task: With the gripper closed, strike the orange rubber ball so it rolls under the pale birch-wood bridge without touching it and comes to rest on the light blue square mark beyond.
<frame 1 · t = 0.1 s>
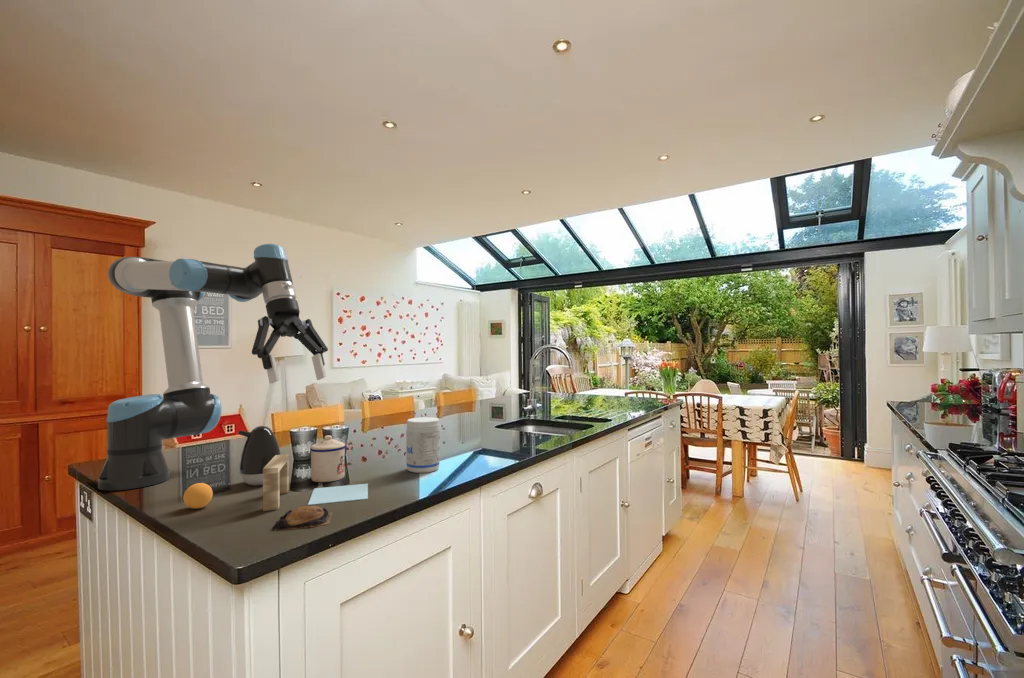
hand: (299, 380, 116), 28 cm above the counter, tool tilted 20°, fingers open, 13 cm apart
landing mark: (340, 494, 113), on the counter
bridge: (276, 500, 109), on the counter
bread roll: (304, 525, 95), on the counter
supplement tub: (423, 470, 136), on the counter
pump dispenser: (260, 483, 124), on the counter
teacup with lid: (328, 477, 129), on the counter
ball: (198, 495, 104), on the counter
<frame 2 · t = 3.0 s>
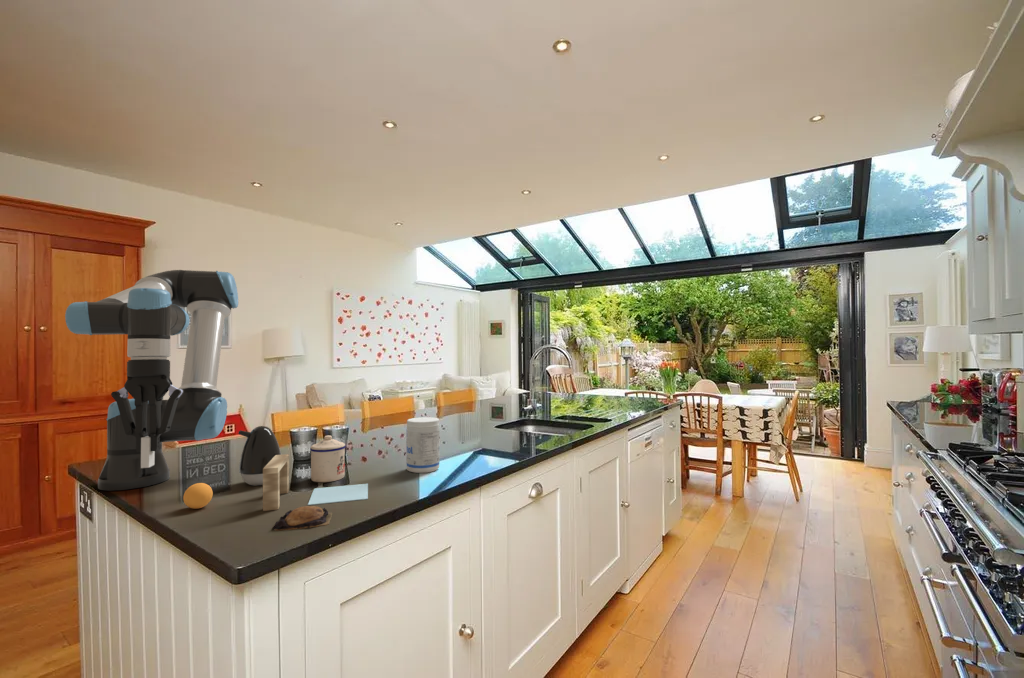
hand: (147, 466, 101), 10 cm above the counter, tool pointing down, fingers closed
nothing on the counter moved.
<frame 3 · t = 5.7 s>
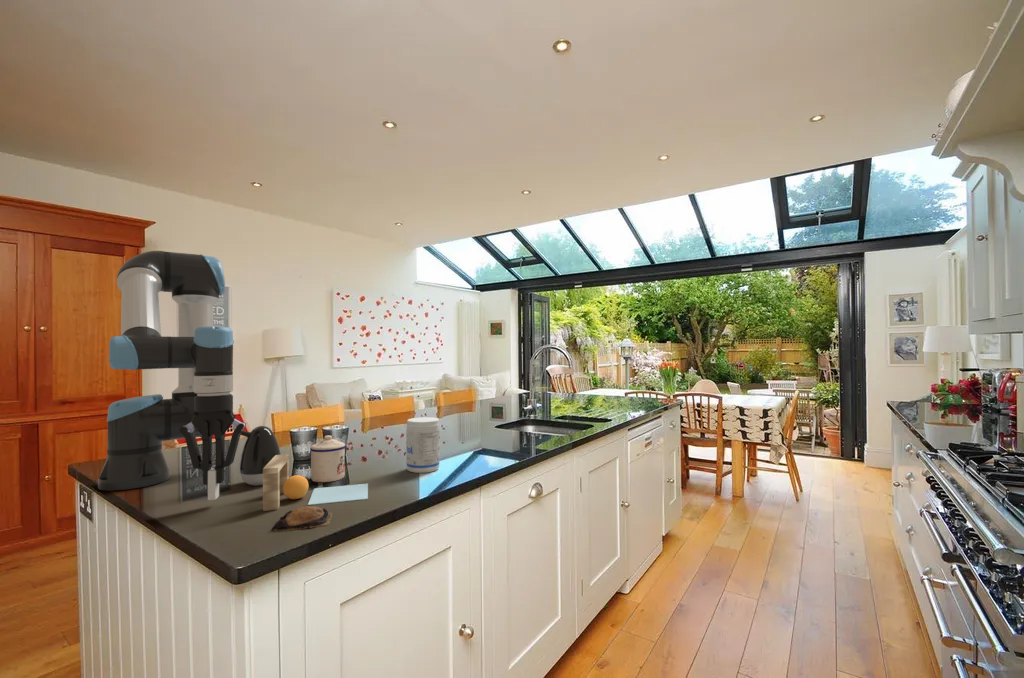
hand: (213, 498, 105), 2 cm above the counter, tool pointing down, fingers closed
ball: (295, 487, 110), on the counter
everything else where it was.
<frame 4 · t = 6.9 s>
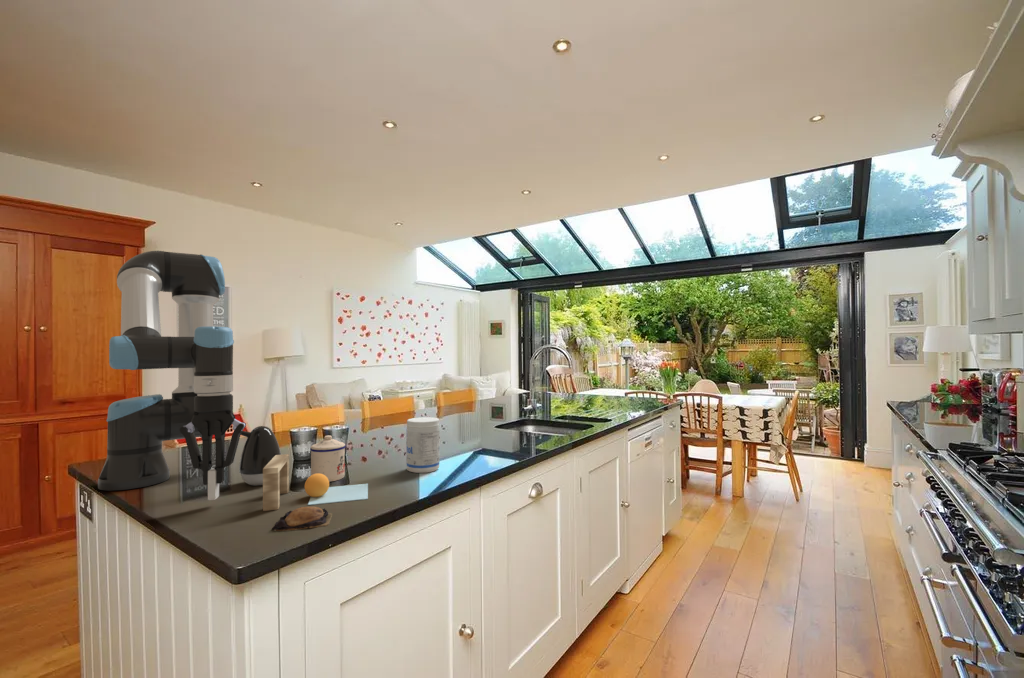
hand: (213, 498, 105), 2 cm above the counter, tool pointing down, fingers closed
ball: (317, 485, 111), on the counter
everything else where it was.
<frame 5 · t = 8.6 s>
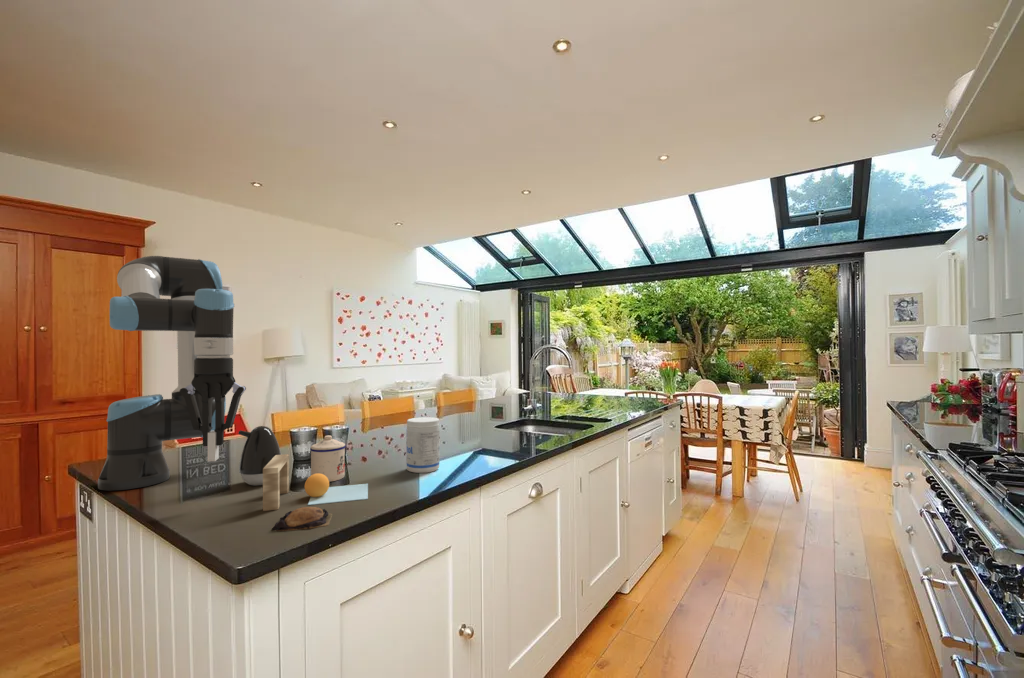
hand: (213, 459, 106), 10 cm above the counter, tool pointing down, fingers closed
nothing on the counter moved.
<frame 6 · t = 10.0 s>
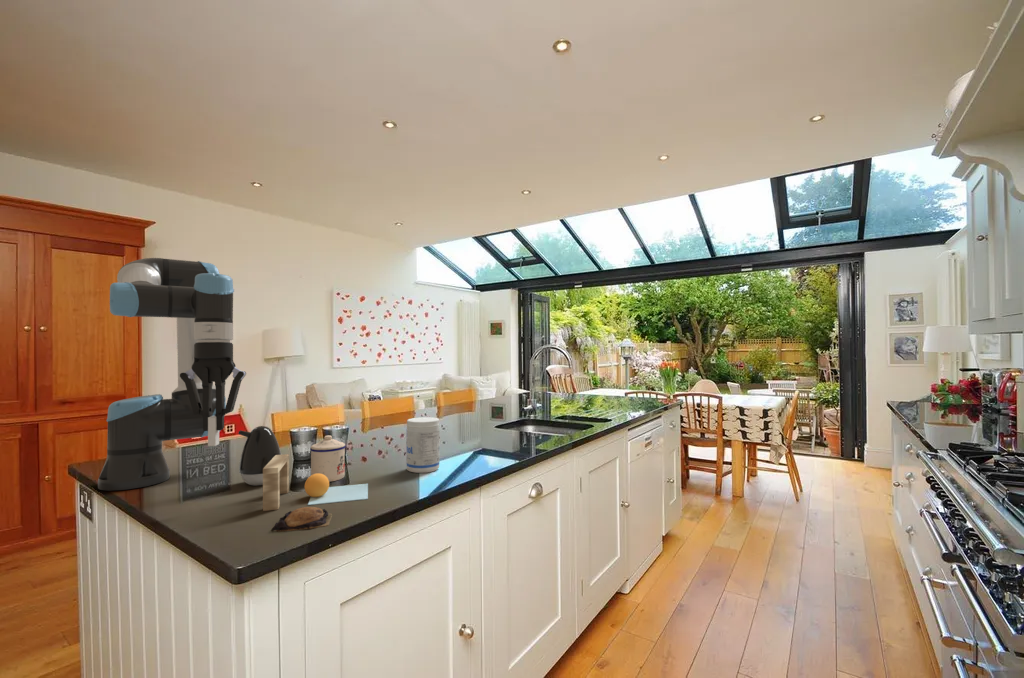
hand: (213, 444, 105), 14 cm above the counter, tool pointing down, fingers closed
nothing on the counter moved.
at the end: ball 5.2 cm from the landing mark (horizontally); ball never touched bridge; ball at rest at the end (0.0 cm/s) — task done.
